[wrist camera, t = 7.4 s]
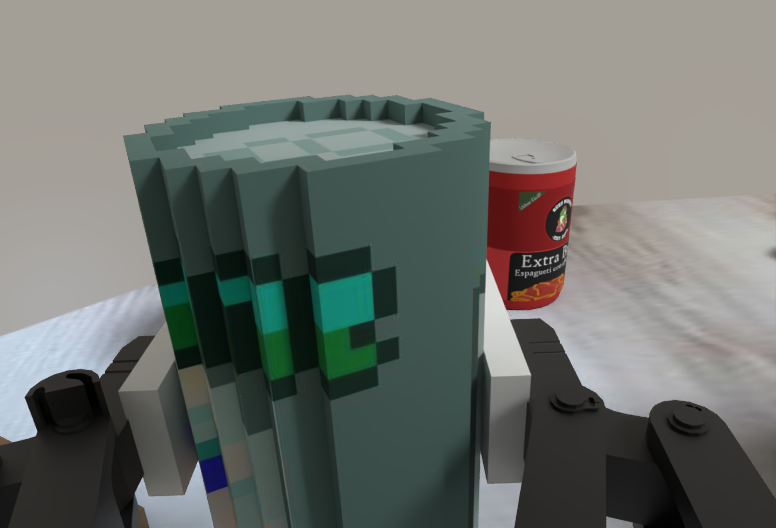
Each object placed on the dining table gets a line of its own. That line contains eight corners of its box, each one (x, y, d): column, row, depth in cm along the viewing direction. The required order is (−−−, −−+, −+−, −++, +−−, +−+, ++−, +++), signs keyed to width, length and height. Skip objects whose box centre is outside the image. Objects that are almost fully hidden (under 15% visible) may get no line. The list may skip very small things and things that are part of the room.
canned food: (521, 323, 41) (532, 171, 37) (441, 286, 47) (442, 150, 42) (583, 289, 46) (601, 149, 41) (503, 259, 51) (511, 133, 47)
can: (232, 607, 18) (118, 117, 12) (407, 532, 20) (389, 87, 14) (287, 838, 13) (139, 199, 7) (511, 704, 15) (557, 132, 9)
